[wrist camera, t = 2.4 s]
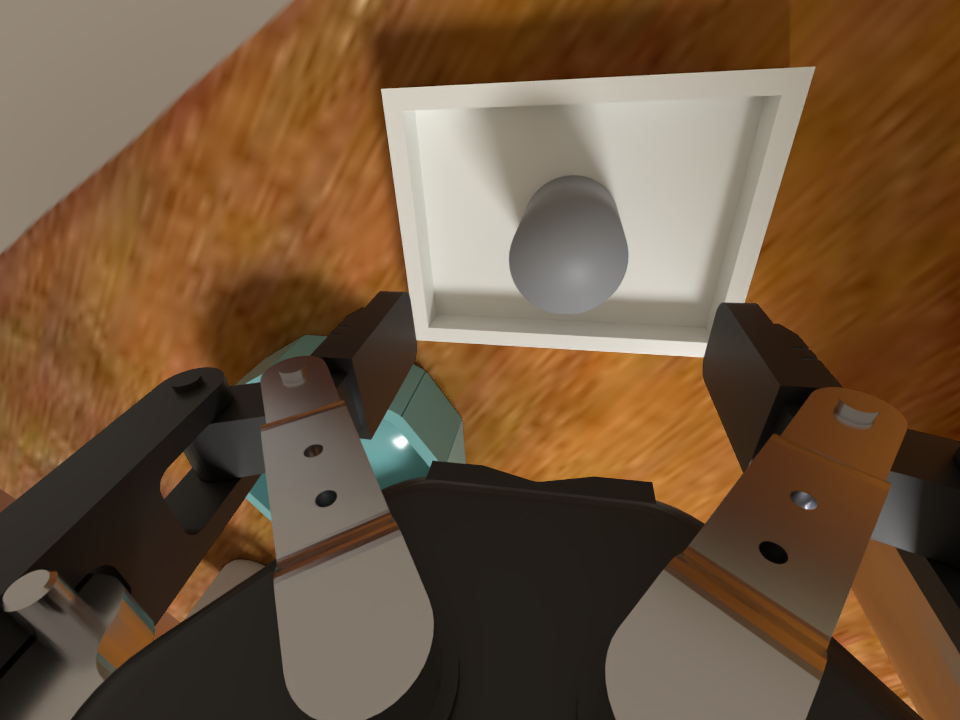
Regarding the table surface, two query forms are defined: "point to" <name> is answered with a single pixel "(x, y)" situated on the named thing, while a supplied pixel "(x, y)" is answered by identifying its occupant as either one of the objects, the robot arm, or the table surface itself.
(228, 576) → the cup
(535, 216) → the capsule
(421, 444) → the bowl
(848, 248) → the table surface
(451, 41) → the table surface
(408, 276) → the tray
